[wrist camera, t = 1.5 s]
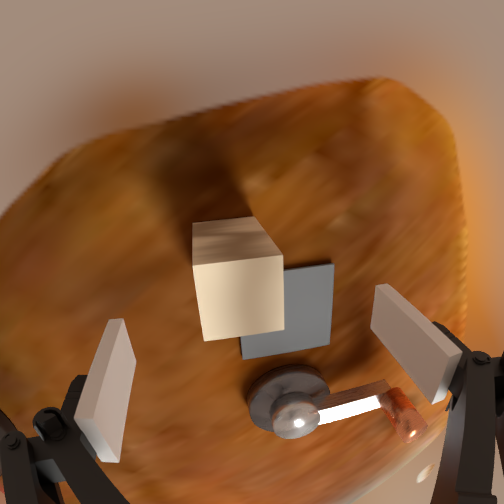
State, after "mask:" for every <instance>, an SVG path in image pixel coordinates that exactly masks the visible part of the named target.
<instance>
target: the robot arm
mask: <svg viewBox="0 0 504 504" xmlns="http://www.w3.org/2000/svg"><path fill="white" fill-rule="evenodd" d="M370 328H371V330H372V331H373V332H374V333H375V334H376V336H377V337H378V338H379V339H380V340H381V342H382V343H383V344H384V345H385V347H386V348H387V349H388V350H389V351H390V353H391V354H392V355H393V356H394V358H395V359H396V360H397V361H398V363H399V364H400V365H401V366H402V368H403V369H404V370H405V371H406V373H407V374H408V375H409V376H410V378H411V379H412V380H413V381H414V383H415V384H416V385H417V386H418V388H419V389H420V390H421V391H422V393H423V394H424V395H425V397H426V398H427V399H428V400H429V402H430V403H431V404H434V403H436V402H439V401H441V400H443V399H445V396H446V394H447V392H448V389H449V390H450V392H451V393H452V397H451V399H450V401H449V403H448V406H447V408H446V410H445V411H448V409H449V415H448V422H447V429H446V435H445V441H444V447H443V452H442V457H441V462H440V467H439V471H438V476H437V480H436V484H435V488H434V492H433V496H432V500H431V503H430V504H497V497H496V496H495V495H492V494H491V489H492V480H493V469H494V455H495V435H496V440H497V444H498V449H499V454H500V459H501V464H502V469H503V475H504V352H503V354H502V357H495V358H491V357H490V356H489V355H488V354H486V353H484V352H481V351H473V352H471V350H470V349H469V348H467V347H466V346H465V345H464V344H463V343H462V342H461V341H460V340H459V339H458V338H457V337H455V336H454V335H453V334H452V333H450V331H449V330H448V329H447V328H446V327H445V326H443V325H441V324H439V323H437V322H435V321H434V322H430V321H429V320H428V319H427V318H426V317H425V316H424V315H423V314H422V313H420V312H419V311H418V310H417V309H416V308H415V307H414V306H413V305H412V304H410V303H409V302H408V301H407V300H406V299H405V298H404V297H403V296H401V295H400V294H399V293H398V292H397V291H396V290H395V289H393V288H392V287H391V286H390V285H389V284H388V283H387V284H382V285H376V288H375V297H374V305H373V312H372V320H371V326H370ZM135 366H136V359H135V356H134V353H133V350H132V346H131V343H130V340H129V337H128V333H127V330H126V326H125V323H124V319H123V318H122V319H109V321H108V324H107V326H106V328H105V331H104V334H103V336H102V339H101V341H100V344H99V346H98V349H97V352H96V354H95V357H94V360H93V362H92V365H91V368H90V371H89V373H88V375H78V376H77V377H76V378H75V379H74V380H73V381H72V382H71V384H70V387H69V389H68V393H67V394H66V397H65V400H64V402H63V405H62V408H61V411H60V410H59V409H58V408H55V407H47V408H44V409H42V410H40V411H39V412H38V413H37V414H36V415H35V416H34V419H33V427H34V429H35V430H36V431H37V433H38V434H39V436H37V437H32V438H26V436H25V435H24V434H23V433H22V432H20V431H17V430H16V428H15V427H14V426H13V424H12V423H11V422H10V420H9V419H8V418H7V417H6V416H5V415H4V414H3V413H2V412H1V411H0V476H1V475H2V477H3V485H4V492H5V498H6V504H65V503H64V500H63V497H62V494H61V490H60V487H59V484H58V482H62V481H67V483H68V485H69V486H70V488H71V489H72V491H73V492H74V494H75V495H76V497H77V498H78V500H79V501H80V503H81V504H130V503H129V502H128V501H127V500H126V499H125V498H124V496H123V495H122V494H121V493H120V492H119V491H118V489H117V488H116V487H115V486H114V485H113V483H112V482H111V481H110V480H109V479H108V477H107V476H106V475H105V474H104V472H103V471H102V470H101V468H100V467H99V466H98V464H97V463H96V462H95V459H96V454H97V456H98V457H99V458H100V460H101V461H102V462H119V461H120V453H121V446H122V439H123V433H124V426H125V420H126V414H127V408H128V402H129V397H130V391H131V386H132V381H133V376H134V371H135Z"/></svg>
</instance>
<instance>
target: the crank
mask: <svg viewBox="0 0 504 504" xmlns="http://www.w3.org/2000/svg"><path fill="white" fill-rule="evenodd" d="M378 407H381V408H382V410H383V411H384V413H385V414H386V416H387V417H388V419H389V420H390V422H391V424H392V425H393V427H394V428H395V430H396V431H397V433H398V434H399V436H400V437H401V439H402V440H403V442H404V443H409V442H412V441H414V440H415V439H417V438H418V437H420V436H421V435H422V434H423V433H424V432H425V431H426V429H427V426H428V425H427V423H426V422H425V420H424V419H423V418H422V416H421V415H420V414H419V412H418V411H417V410H416V408H415V407H414V406H413V404H412V403H411V402H410V400H409V399H408V398H407V396H406V395H405V394H404V392H403V391H402V390H401V389H400V388H398V387H396V388H392V389H391V387H390V386H389V385H388V383H387V382H386V381H385V379H383V380H380V381H377V382H373V383H370V384H367V385H363V386H360V387H356V388H352V389H349V390H345V391H341V392H337V393H333V394H329V395H325V396H321V397H317V398H312V397H311V396H310V395H308V394H306V393H291V394H288V395H285V396H283V397H281V398H279V399H278V400H276V401H275V402H274V403H273V404H272V406H271V407H270V410H269V415H270V419H271V422H272V425H273V429H274V432H275V434H276V435H277V436H279V437H281V438H285V439H294V438H299V437H302V436H305V435H307V434H309V433H310V432H312V431H313V430H314V429H315V428H316V427H317V426H318V425H320V424H324V423H327V422H331V421H335V420H339V419H342V418H346V417H349V416H353V415H356V414H359V413H363V412H366V411H369V410H372V409H375V408H378Z"/></svg>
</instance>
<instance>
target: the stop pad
mask: <svg viewBox="0 0 504 504" xmlns="http://www.w3.org/2000/svg"><path fill="white" fill-rule="evenodd" d="M283 279H284V330H279V331H273V332H267V333H260V334H254V335H247V336H240V338H241V348H242V358H243V360H245V359H251V358H258V357H264V356H270V355H276V354H282V353H288V352H293V351H298V350H304V349H309V348H314V347H319V346H324V345H329V343H330V331H331V317H332V301H333V283H334V263H329V264H322V265H315V266H307V267H300V268H292V269H285V270H283Z"/></svg>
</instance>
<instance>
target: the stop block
mask: <svg viewBox="0 0 504 504" xmlns="http://www.w3.org/2000/svg"><path fill="white" fill-rule="evenodd" d="M192 262H193V273H194V280H195V287H196V293H197V300H198V306H199V313H200V319H201V325H202V331H203V337H204V341H209V340H217V339H225V338H233V337H240V336H247V335H254V334H260V333H267V332H273V331H279V330H284V279H283V254H282V253H281V252H280V250H279V249H278V248H277V246H276V245H275V244H274V242H273V241H272V240H271V238H270V237H269V236H268V234H267V233H266V232H265V230H264V229H263V228H262V226H261V225H260V224H259V222H258V221H257V220H256V218H255V217H254V216H253V217H243V218H234V219H224V220H215V221H206V222H198V223H193V224H192Z"/></svg>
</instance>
